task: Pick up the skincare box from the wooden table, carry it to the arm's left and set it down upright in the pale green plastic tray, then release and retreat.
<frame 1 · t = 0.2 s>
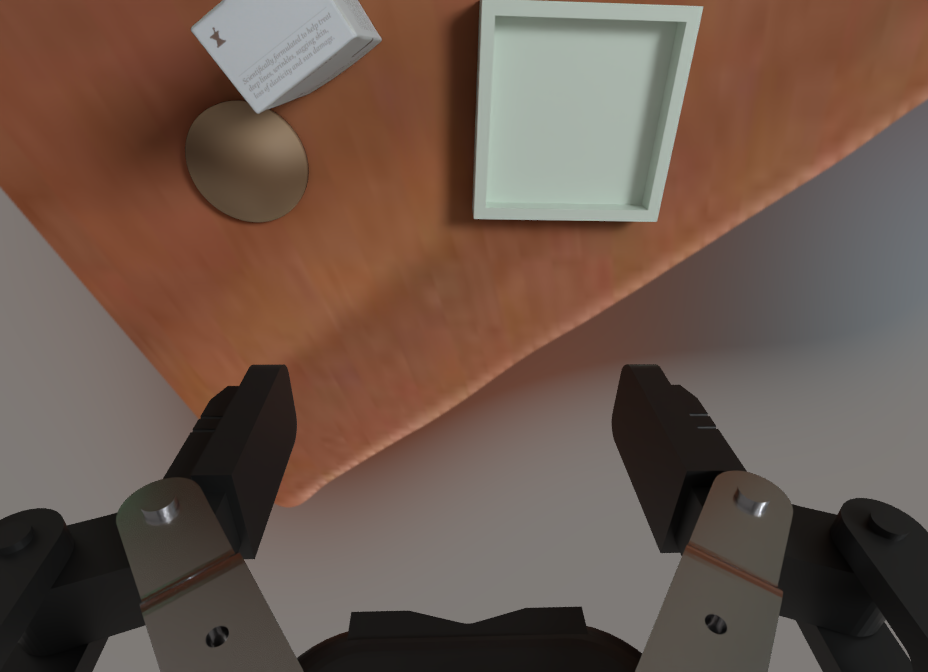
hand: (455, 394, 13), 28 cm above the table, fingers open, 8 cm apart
coaster: (249, 163, 37), on the table
tray: (571, 116, 36), on the table
skincare box: (326, 32, 33), on the table
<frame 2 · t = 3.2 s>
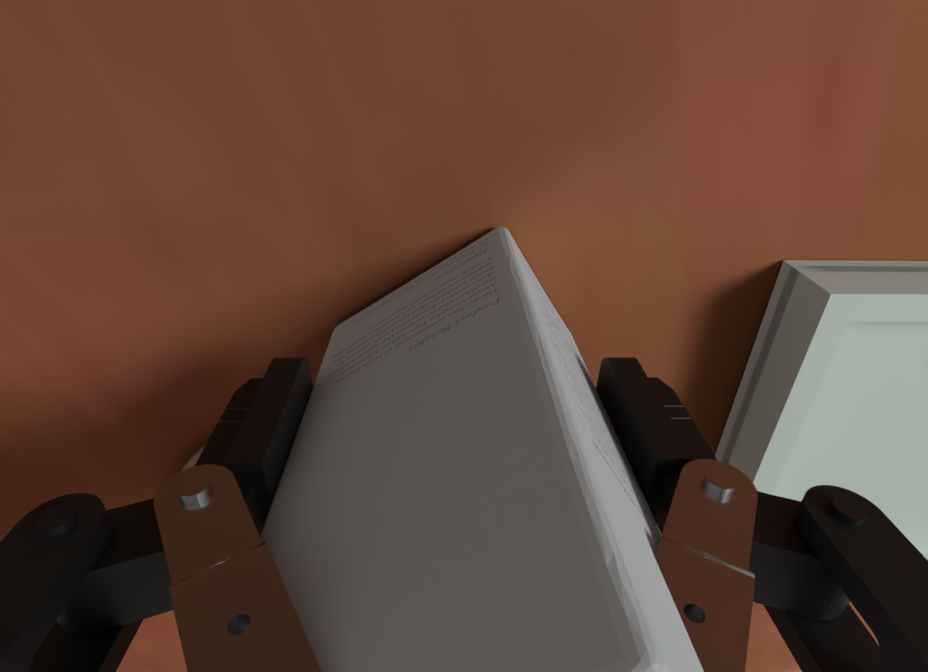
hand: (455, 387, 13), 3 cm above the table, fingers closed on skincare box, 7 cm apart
tray: (901, 431, 19), on the table
skincare box: (454, 317, 16), on the table, touching gripper
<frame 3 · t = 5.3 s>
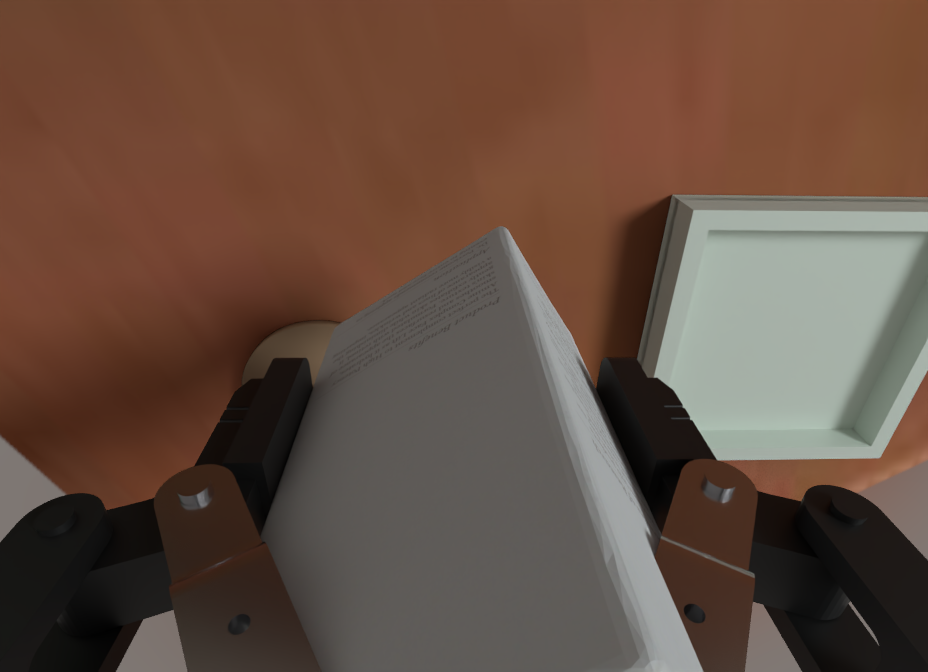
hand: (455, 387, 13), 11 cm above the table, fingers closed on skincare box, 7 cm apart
coaster: (327, 390, 27), on the table
tray: (774, 328, 26), on the table
skincare box: (454, 316, 16), point 8 cm above the table, touching gripper
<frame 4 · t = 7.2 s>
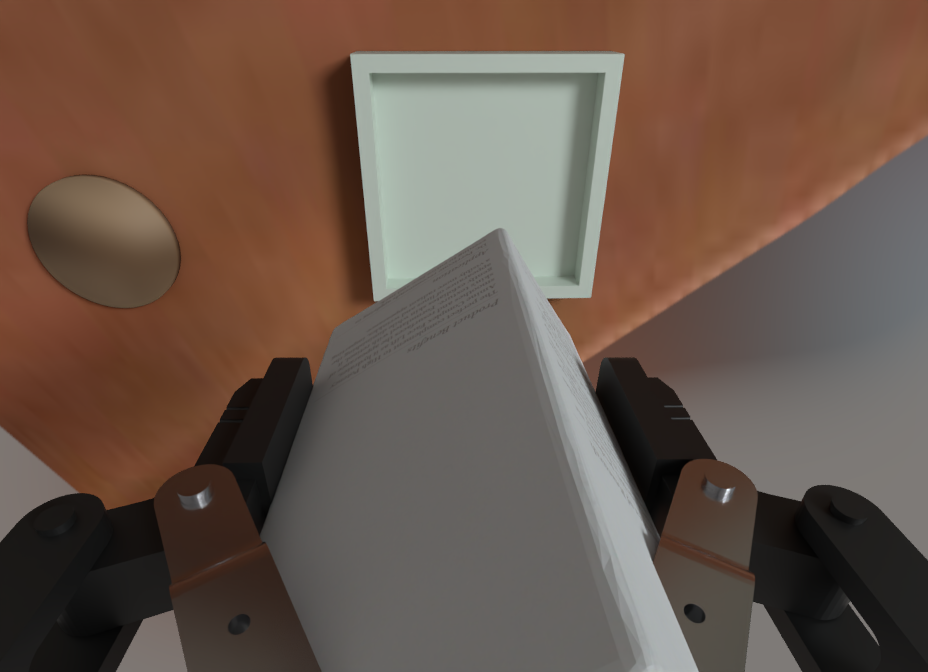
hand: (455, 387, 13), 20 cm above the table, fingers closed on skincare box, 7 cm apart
coaster: (109, 243, 32), on the table
tray: (482, 180, 31), on the table
skincare box: (453, 318, 16), point 16 cm above the table, touching gripper
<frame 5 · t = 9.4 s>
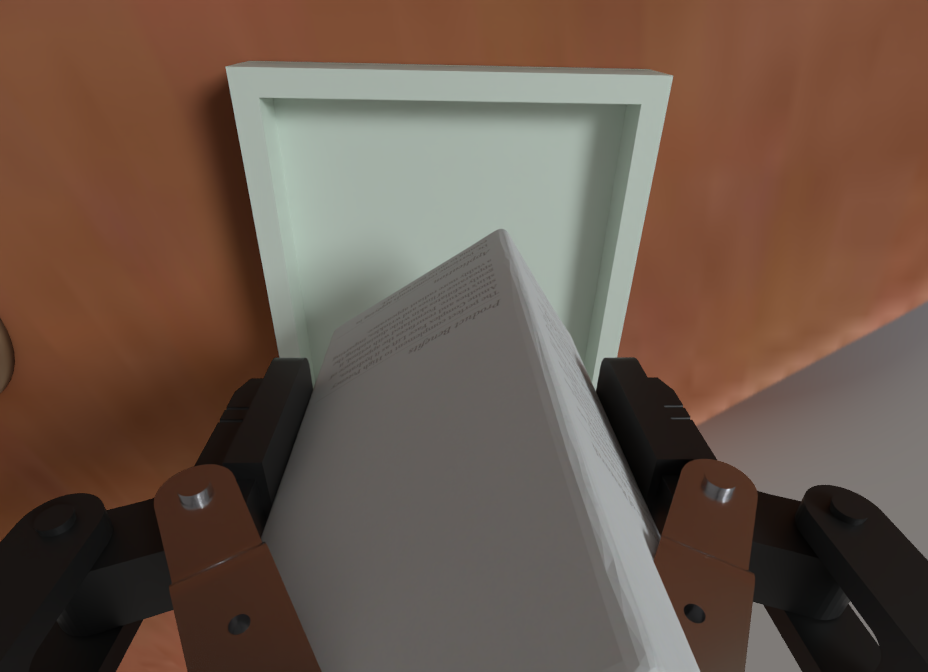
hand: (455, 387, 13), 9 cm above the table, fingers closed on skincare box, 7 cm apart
tray: (450, 252, 21), on the table
skincare box: (454, 318, 16), point 5 cm above the table, touching gripper
when the fingers open (5 cm above the table, at t = 11.3 s): skincare box stays where it is, resting on tray.
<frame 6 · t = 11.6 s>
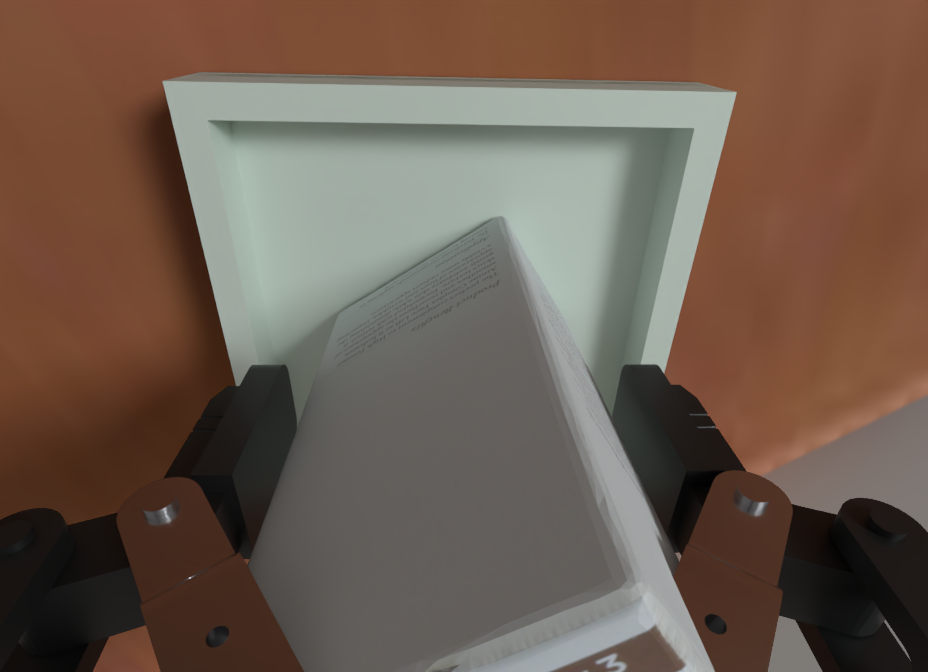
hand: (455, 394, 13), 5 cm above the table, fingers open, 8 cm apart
tray: (451, 299, 17), on the table
skincare box: (454, 305, 17), point 1 cm above the table, touching tray
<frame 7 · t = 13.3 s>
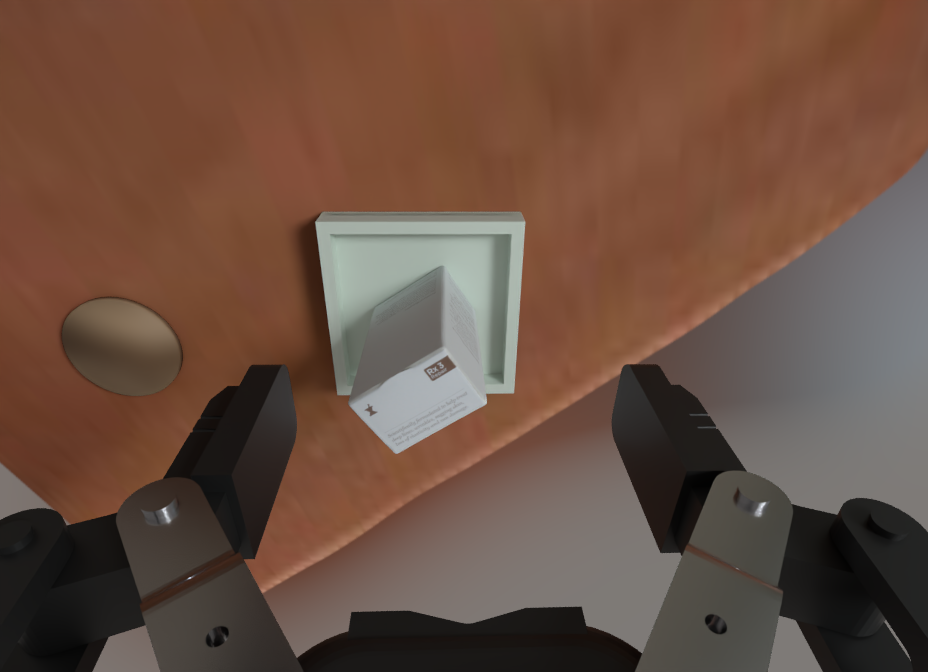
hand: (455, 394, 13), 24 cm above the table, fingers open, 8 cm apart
coaster: (125, 346, 39), on the table
tray: (424, 301, 38), on the table
skincare box: (425, 303, 38), point 1 cm above the table, touching tray
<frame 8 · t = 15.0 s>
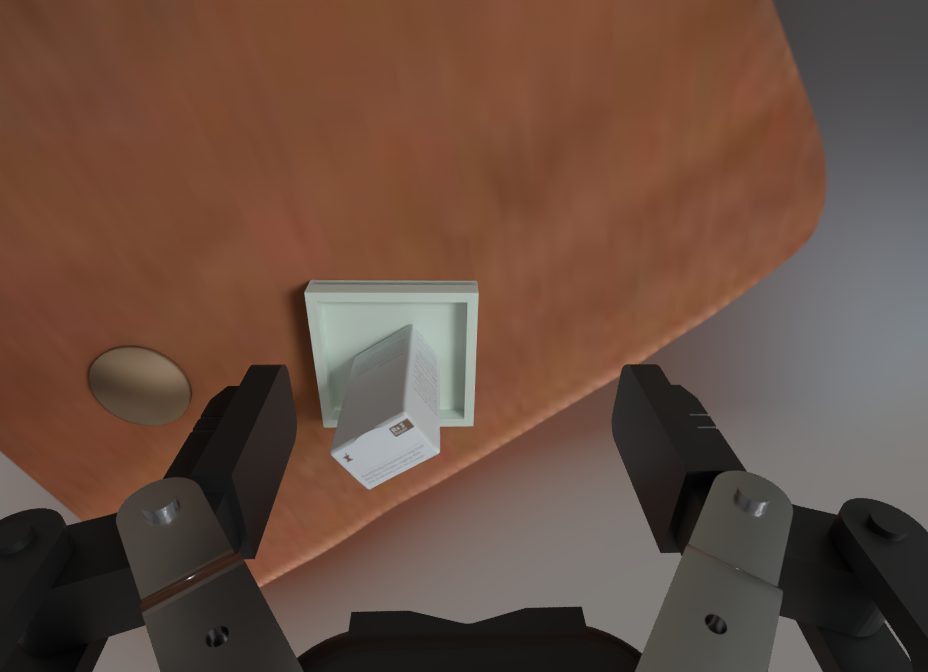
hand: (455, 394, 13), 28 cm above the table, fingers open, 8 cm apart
coaster: (143, 385, 46), on the table
tray: (397, 350, 45), on the table
skincare box: (397, 353, 45), point 1 cm above the table, touching tray
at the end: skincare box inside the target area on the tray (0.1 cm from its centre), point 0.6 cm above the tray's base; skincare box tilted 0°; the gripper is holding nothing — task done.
